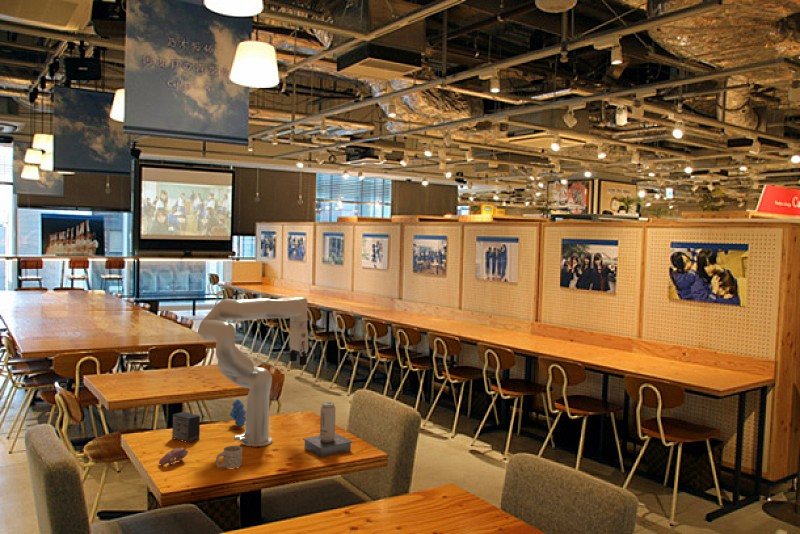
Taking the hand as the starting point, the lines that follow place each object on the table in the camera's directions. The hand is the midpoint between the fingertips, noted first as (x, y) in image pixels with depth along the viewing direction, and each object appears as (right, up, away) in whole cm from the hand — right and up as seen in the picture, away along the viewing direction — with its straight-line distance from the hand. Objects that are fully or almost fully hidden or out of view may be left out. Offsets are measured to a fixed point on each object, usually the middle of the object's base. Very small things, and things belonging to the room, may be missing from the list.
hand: (298, 363), depth 285 cm
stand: (+16, -32, -24) cm, 43 cm away
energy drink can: (+16, -28, -24) cm, 40 cm away
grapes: (-29, -30, +5) cm, 42 cm away
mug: (-19, -32, -47) cm, 59 cm away
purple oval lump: (-40, -31, -44) cm, 67 cm away
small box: (-45, -30, -15) cm, 56 cm away
